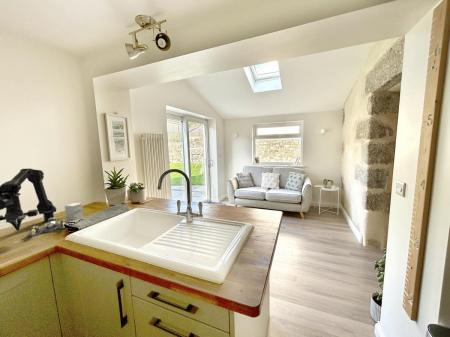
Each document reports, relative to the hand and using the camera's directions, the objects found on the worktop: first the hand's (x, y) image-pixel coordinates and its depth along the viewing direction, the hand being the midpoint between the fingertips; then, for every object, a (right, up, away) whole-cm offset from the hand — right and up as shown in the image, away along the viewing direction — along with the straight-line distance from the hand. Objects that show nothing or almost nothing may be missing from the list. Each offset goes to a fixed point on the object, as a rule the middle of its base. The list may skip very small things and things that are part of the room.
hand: (18, 230), depth 116 cm
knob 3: (+15, -2, +15) cm, 21 cm away
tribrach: (+5, -4, +17) cm, 18 cm away
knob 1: (+4, -4, +6) cm, 8 cm away
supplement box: (+13, -2, +28) cm, 31 cm away
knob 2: (+2, -1, +24) cm, 24 cm away
